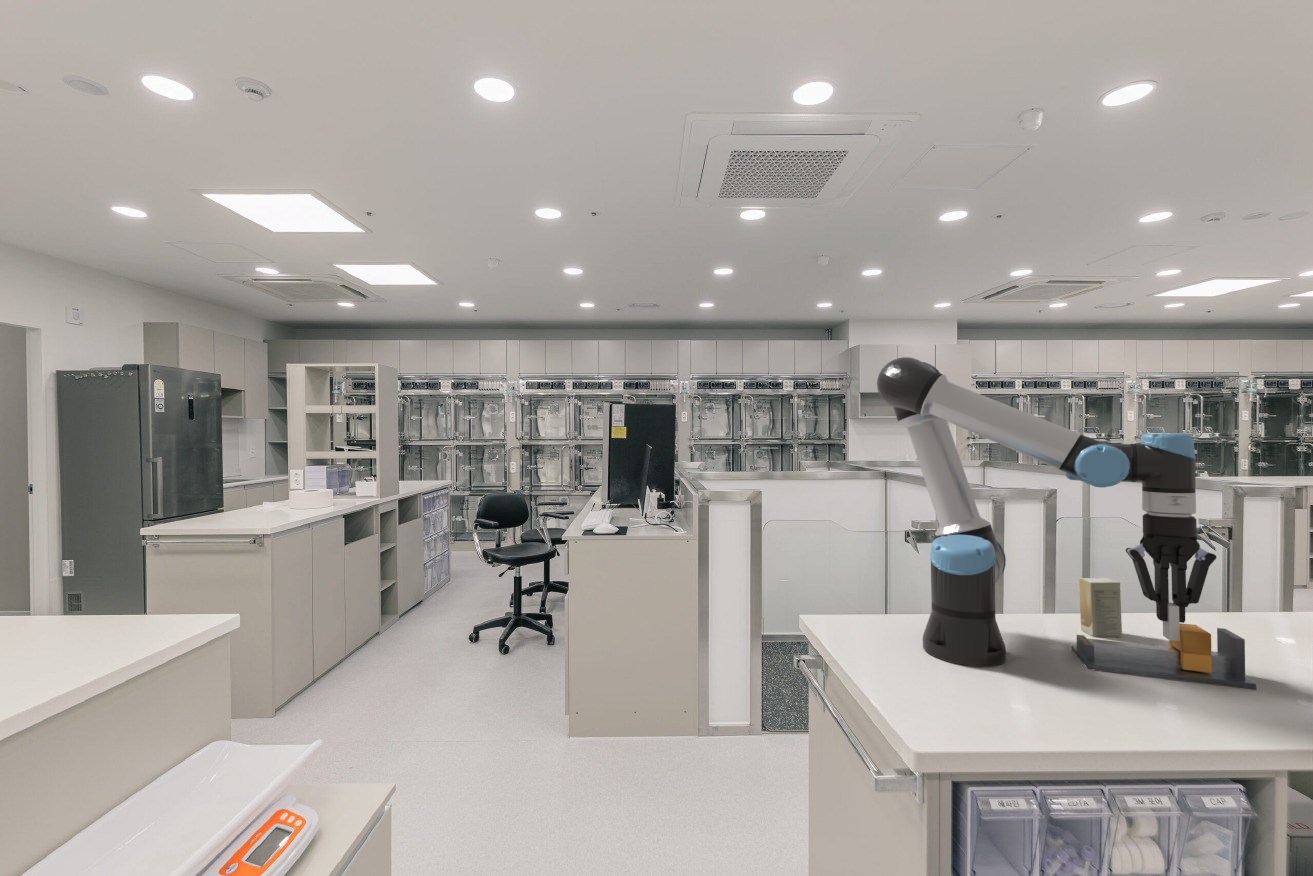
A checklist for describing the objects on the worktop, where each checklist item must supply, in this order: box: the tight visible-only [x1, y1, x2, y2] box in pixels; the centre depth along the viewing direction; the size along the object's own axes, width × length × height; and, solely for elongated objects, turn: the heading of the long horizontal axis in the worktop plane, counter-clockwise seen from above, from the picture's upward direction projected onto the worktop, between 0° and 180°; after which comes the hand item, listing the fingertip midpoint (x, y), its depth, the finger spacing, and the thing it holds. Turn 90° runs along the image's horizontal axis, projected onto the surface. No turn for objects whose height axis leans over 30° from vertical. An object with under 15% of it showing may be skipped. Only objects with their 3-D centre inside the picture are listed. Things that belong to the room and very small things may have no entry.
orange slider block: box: [1168, 622, 1212, 673], centre depth 104 cm, size 4×5×7 cm
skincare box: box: [1078, 577, 1123, 638], centre depth 124 cm, size 6×4×12 cm
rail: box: [1071, 627, 1257, 690], centre depth 106 cm, size 24×10×8 cm, turn 68°
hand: (1171, 638), depth 105 cm, fingers closed
